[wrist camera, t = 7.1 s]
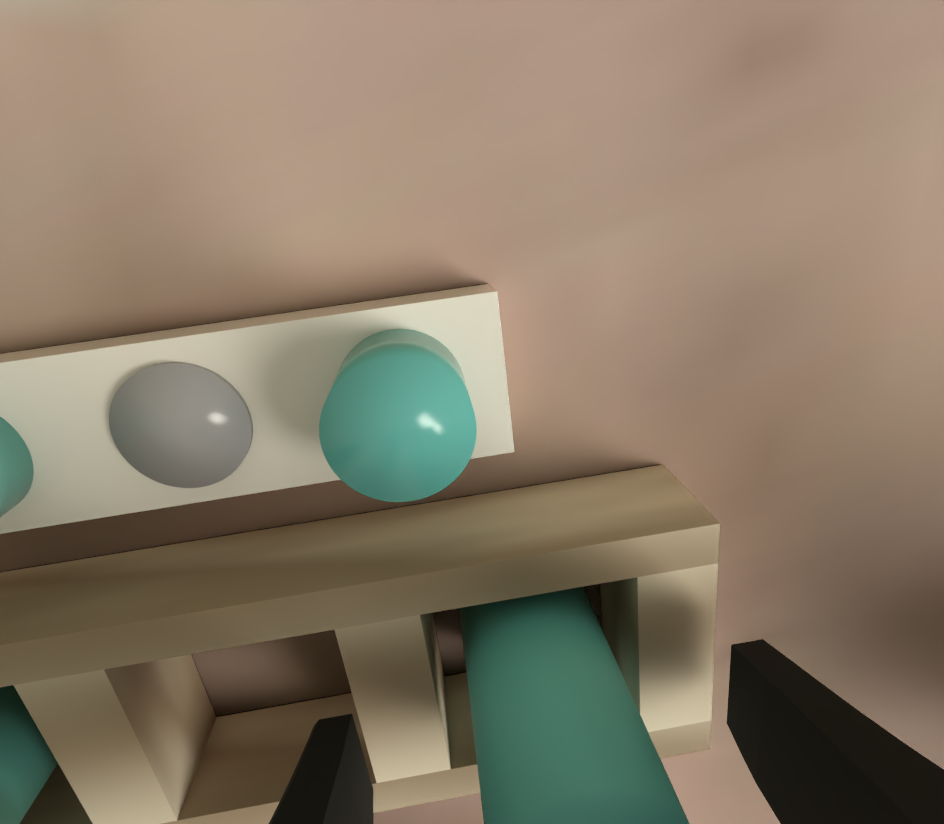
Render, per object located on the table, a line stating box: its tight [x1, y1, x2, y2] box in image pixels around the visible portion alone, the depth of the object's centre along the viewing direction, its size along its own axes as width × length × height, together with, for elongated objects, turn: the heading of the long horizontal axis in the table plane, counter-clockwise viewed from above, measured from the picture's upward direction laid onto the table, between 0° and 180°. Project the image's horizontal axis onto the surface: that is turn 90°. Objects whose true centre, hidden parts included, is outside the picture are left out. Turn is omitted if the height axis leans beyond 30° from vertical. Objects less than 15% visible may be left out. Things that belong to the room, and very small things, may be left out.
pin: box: [459, 587, 689, 824], centre depth 11 cm, size 3×3×6 cm
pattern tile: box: [0, 284, 514, 534], centre depth 10 cm, size 3×12×3 cm, turn 97°
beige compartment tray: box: [0, 465, 720, 824], centre depth 10 cm, size 6×19×6 cm, turn 97°
